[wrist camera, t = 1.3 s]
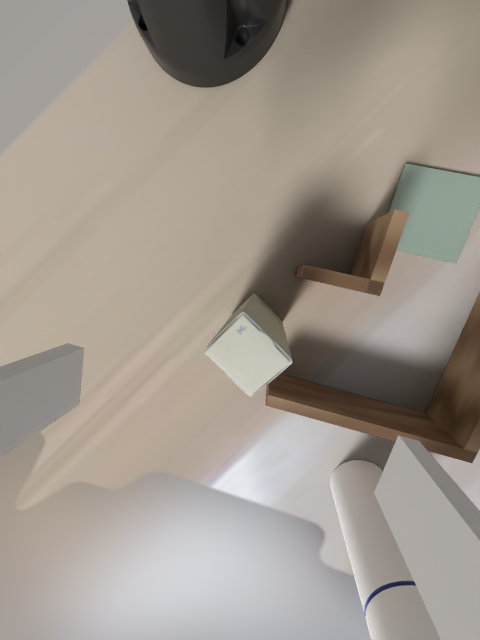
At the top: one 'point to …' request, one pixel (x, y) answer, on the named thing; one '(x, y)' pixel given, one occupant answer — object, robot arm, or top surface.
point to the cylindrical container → (377, 558)
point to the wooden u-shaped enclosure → (377, 416)
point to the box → (251, 346)
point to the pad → (436, 211)
